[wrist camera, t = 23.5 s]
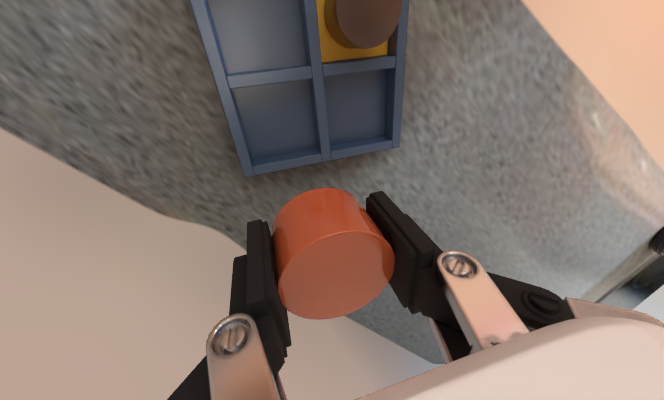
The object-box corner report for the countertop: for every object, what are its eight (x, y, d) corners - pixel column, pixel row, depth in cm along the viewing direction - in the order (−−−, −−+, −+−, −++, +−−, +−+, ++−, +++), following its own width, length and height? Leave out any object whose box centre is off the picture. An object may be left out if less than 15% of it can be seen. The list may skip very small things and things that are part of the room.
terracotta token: (364, 177, 10) (399, 217, 8) (366, 251, 13) (393, 300, 10) (260, 200, 10) (262, 252, 7) (282, 275, 12) (290, 333, 10)
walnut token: (382, -31, 17) (405, -44, 14) (380, 45, 19) (400, 45, 17) (320, -27, 16) (332, -42, 14) (326, 51, 18) (338, 51, 16)
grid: (398, -58, 17) (414, -70, 15) (389, 140, 24) (399, 147, 23) (178, -53, 14) (168, -66, 13) (245, 167, 22) (244, 177, 20)
